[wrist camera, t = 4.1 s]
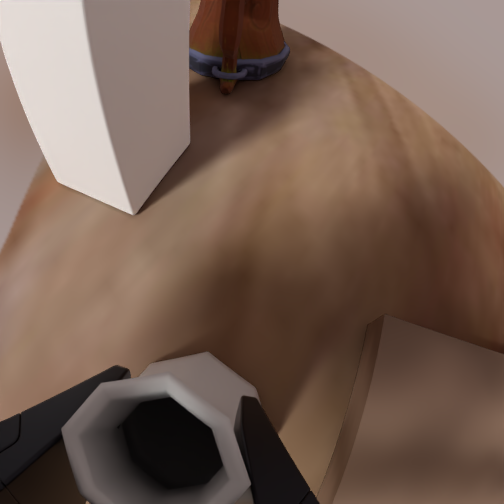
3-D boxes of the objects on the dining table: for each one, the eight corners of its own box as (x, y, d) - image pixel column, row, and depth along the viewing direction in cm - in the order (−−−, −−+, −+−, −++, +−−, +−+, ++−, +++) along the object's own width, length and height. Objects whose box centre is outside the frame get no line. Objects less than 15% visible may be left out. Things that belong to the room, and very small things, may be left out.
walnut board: (475, 563, 7) (492, 568, 6) (274, 584, 8) (281, 601, 7) (527, 373, 15) (545, 367, 13) (367, 324, 16) (384, 313, 14)
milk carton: (191, 144, 21) (203, -130, 4) (135, 218, 18) (80, -139, 1) (116, 122, 22) (91, -105, 5) (57, 184, 18) (-20, -76, 2)
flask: (92, 396, 13) (-51, 358, 4) (213, 328, 15) (214, 205, 6) (173, 517, 10) (125, 636, 1) (297, 444, 13) (423, 482, 4)
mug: (293, 132, 23) (342, -51, 10) (146, 120, 22) (133, -63, 9) (285, 45, 32) (307, -62, 18) (190, 36, 31) (196, -71, 17)
